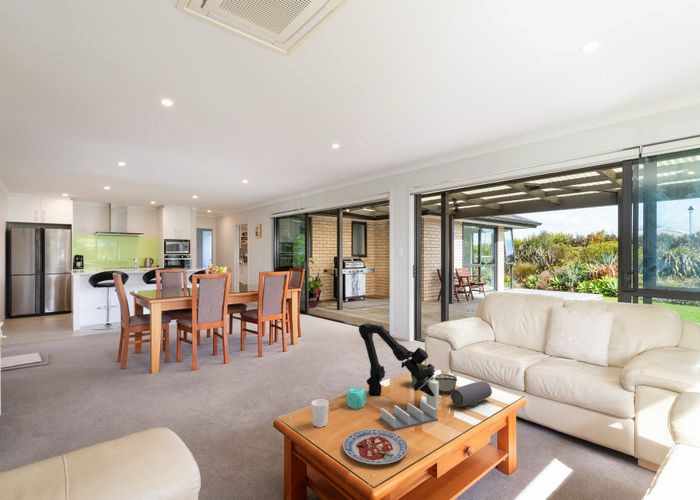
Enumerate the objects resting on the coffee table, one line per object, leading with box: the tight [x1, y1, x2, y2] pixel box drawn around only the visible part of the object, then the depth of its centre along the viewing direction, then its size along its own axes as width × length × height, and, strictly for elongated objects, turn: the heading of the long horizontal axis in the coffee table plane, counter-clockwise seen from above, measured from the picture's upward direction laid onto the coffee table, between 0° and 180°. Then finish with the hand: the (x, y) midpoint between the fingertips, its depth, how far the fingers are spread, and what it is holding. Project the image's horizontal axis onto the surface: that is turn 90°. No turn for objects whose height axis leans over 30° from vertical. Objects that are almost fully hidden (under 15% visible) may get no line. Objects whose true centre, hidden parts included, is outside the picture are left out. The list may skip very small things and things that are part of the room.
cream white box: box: [425, 379, 440, 409], centre depth 183 cm, size 4×5×13 cm
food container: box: [434, 373, 458, 397], centre depth 201 cm, size 12×6×10 cm, turn 84°
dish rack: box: [379, 399, 439, 432], centre depth 169 cm, size 13×24×5 cm, turn 114°
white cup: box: [311, 398, 330, 428], centre depth 164 cm, size 8×8×10 cm
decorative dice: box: [346, 387, 367, 410], centre depth 184 cm, size 8×8×8 cm
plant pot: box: [410, 363, 428, 386], centre depth 214 cm, size 12×12×11 cm
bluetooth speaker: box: [450, 380, 493, 407], centre depth 187 cm, size 23×9×10 cm, turn 122°
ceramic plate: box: [342, 428, 409, 465], centre depth 142 cm, size 26×26×3 cm
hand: (435, 394), depth 182 cm, fingers closed on cream white box, 5 cm apart
